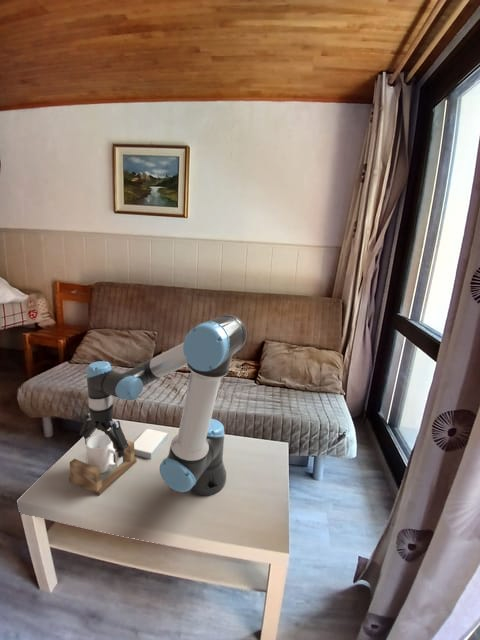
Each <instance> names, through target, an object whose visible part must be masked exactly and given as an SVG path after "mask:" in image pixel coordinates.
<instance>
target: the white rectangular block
mask: <svg viewBox="0 0 480 640" xmlns="http://www.w3.org/2000/svg"><path fill="white" fill-rule="evenodd" d="M168 439H169V433H168V432H165V431H159V430H155V429H151V428H146V430H144V432H143V433H142V434H141V435H139V436H138V438H137V439H135V441H134V456H137V457H138V456H139V457H141V458H145V459H150V460H151V459H153V457H154V456H156V454H157V453H158V451H159V450H160V449H161V447H163V445H164V443H166V442H167V440H168Z"/></svg>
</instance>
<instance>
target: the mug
mask: <svg viewBox="0 0 480 640" xmlns="http://www.w3.org/2000/svg"><path fill="white" fill-rule="evenodd" d="M86 445H87V449H86V456H87V458H86V459H87V464H89V465H91V466H93V467H96V468H98V469H100V470H101V474H102V473H105V472H107V471H108V470H110V469H111V468H112V467H115V466H116V463H114V457H113V454H115V449H114V448H113V443H112V441H111V439H110V438H109V436H108V435H106V434H105V433H101V434H96V435H93V437H91V438H90V439H89V440H88V441H87V444H85V446H86Z"/></svg>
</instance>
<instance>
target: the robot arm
mask: <svg viewBox="0 0 480 640" xmlns="http://www.w3.org/2000/svg"><path fill="white" fill-rule="evenodd" d="M247 337H248V331H247V327H246V325H245V323H244V322H243V321H242V319H241V318H239V317H237V316H236V315H233V314H221V315H219V316H216V317H215V318H213V319H210V320H208V321H207V320H206V321H204V322H201V323H198V324H197V325H196V326H195V327H193V328H192V329H191V330H189V331H188V333H187V334H186V335H185V338H184V340H183V342H182V343H180V344H178V345H175V346H174V347H172V348H169V349H168V350H166V351H165V352H162V353H160V354H157V355H156V356H154V357H153V358H151V359H148V360H146V361H144V362H142V363H140V364H139V365H137V366H135V367H133V368H130V369H128V370H126V371H124V372H118V371H113V370H112V366H111V365H112V364H111V363H110V362H109V361H105V360H99V361H93V362H92V363H89V364H88V365H87V366H86V376H85V377H86V385H87V395H88V397H87V398H88V407H89V413H87V414H85V415H84V421H83V424H82V425H81V429H80V432H79V435H80V436H83V438H84V444H85V448H86V450H87V445H86V444H87V441H88V440H89V439H90V438H91V437H93V436H94V435H93V433H94V432H95V431H96V430H98V431H101V432H103V434H106V435H108V436H109V438H110V439H111V441H112V443H113V444H114V446H115V447H116V449H115V462H116V466H117V467H118V466H119V465H120V464H121V463H122V462H123V455H124V449H125V448H127V447H128V443H127V441H126V440H127V439H126V436H125V434H124V431H123V429H122V426H121V422H120V421H119V420H116V421H114V420H113V415H114V405H113V403H114V400H113V397H115V398H119V399H121V400H126V401H135V400H137V399H138V398H139V396H140V395H141V394H142V392H143V390H144V389H143V388H144V387H145V386H147V385H149V384H151V383H153V382H154V381H157V380H159V379H161V378H163V377H165V376H167V375H169V374H172V373H175V372H176V371H179V370H180V369H182V368H184V367H187V368H188V369H189V371H190V376H189V380H188V386H187V389H186V390H187V391H186V394H185V399H184V404H183V408H182V409H183V410H182V414H181V418H180V423H179V429H178V433H177V434H176V435H175V436H174V437H173V438H172V440H171V442H170V446H169V452H168V454H167V456H166V457H165V458H163V460H162V461H161V463H160V464H159V473H160V477H161V479H162V480H163V481H164V483H165V484H166V485H167V486H168V487H169V488H171V489H172V490H174V491H176V492H179V493H185V492H191V493H192V494H196V495H199V496H210V495H211V496H212V495H215V494H217V493H219V492H220V491H221V490H222V489H223V488H224V487H225V485H226V482H227V471H226V468H225V464H224V461H223V459H224V457H223V455H224V445H225V444H224V442H225V434H226V433H225V427H224V424H223V423H222V422H220V421H219V420H217V419H215V418H212V416H213V413H214V408H215V404H216V401H217V395H218V392H219V388H220V384H221V379H222V378H223V377H225V376H227V375H228V373H229V371H230V366H231V363H232V358H233V357H234V355H235V354H236V353H237V352H239V351H240V350H241V349H242V348H243V347H244V345H245V344H246V341H247ZM92 423H93V424H92Z"/></svg>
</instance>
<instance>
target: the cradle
mask: <svg viewBox="0 0 480 640" xmlns="http://www.w3.org/2000/svg"><path fill="white" fill-rule="evenodd" d="M126 441H127V443H128V447H127V448H125V449H124V455H123V462H122V463H121V464H120V465H119V466H118V467H117V466H115V467H112V468H111V469H110V470H108V471H107V472H105V473H102V474H101V470H100V469H98V468H96V467H93V466H91V465H89V464H88V463H86V462H83V461H81V460H79V459H77V458H73V459H72V460H70V461H69V472H70V477H69V478H68V480H69V481H68V482H70V483H72V484H74V485H76V486H79V487H81V488H83V489H85V490H87V491H90V492H92V493H94V494H95V495H97V496H101V495H102V494H103V493H105V491H107V490H108V489H109V488H110V487H111V485H113V484H114V483H115V482H116V481H117V480H119V478H121V477H122V475H124V474H125V473H126V472H127V471H128V470H129V469H130V468H132V467H133V466H134V465H135V464H136V463H137V458H136V457H135V455H134V442H135V441H134V442H133V441H130V440H128V439H126ZM113 448H114V449H116V447H115V446H114V444H113ZM113 457H114V463H116V462H115V454H113Z"/></svg>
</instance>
